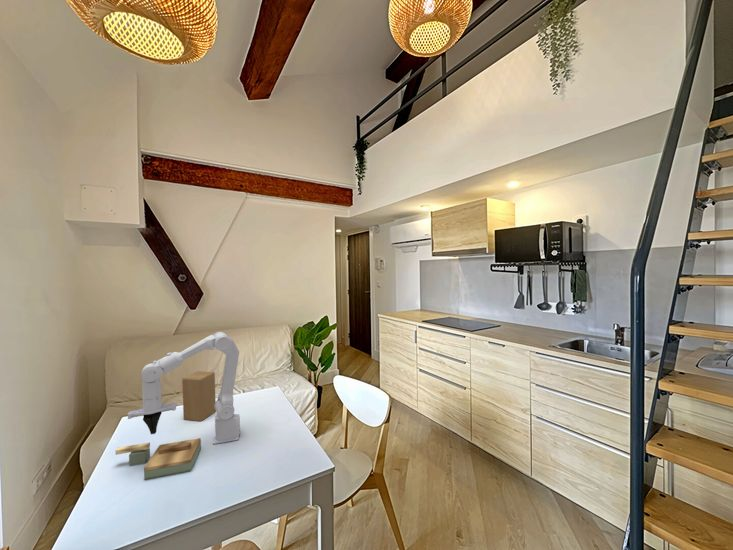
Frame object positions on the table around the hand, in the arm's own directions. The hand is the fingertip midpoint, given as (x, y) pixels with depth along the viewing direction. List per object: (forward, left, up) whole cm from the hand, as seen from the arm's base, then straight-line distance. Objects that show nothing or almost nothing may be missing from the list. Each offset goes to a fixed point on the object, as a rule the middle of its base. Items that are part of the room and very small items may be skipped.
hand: (153, 432), depth 110 cm
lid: (-8, +4, -7) cm, 12 cm away
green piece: (-8, +4, -10) cm, 14 cm away
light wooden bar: (+7, -1, -6) cm, 9 cm away
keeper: (+5, -1, -10) cm, 12 cm away
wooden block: (-8, -33, -11) cm, 35 cm away
